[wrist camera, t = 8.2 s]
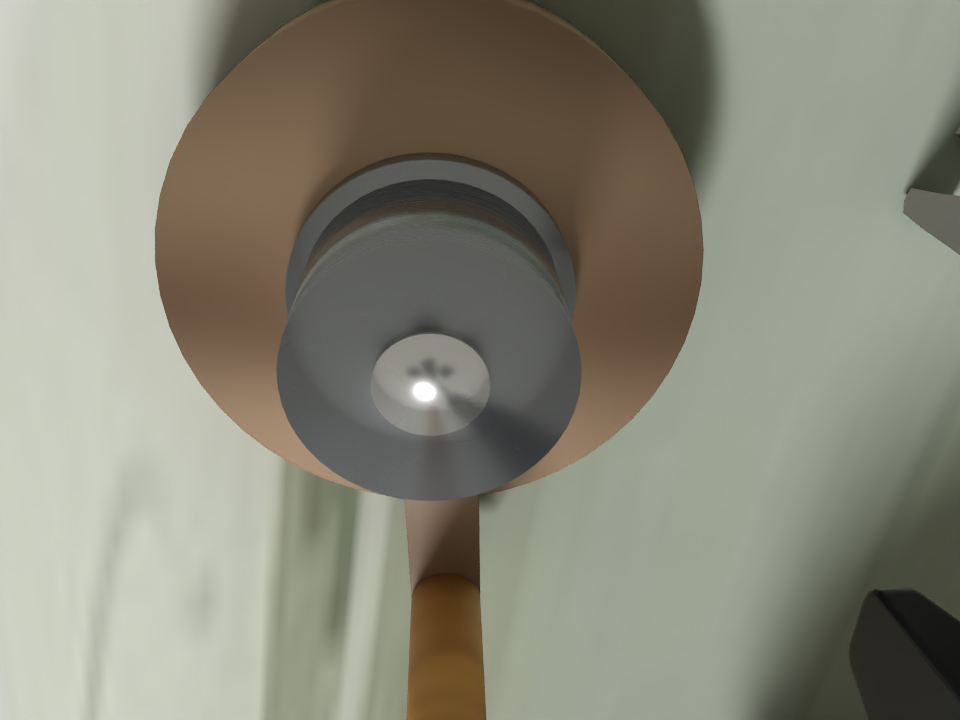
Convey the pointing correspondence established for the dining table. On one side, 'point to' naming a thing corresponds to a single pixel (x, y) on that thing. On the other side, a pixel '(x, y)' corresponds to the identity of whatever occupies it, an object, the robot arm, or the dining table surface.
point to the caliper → (936, 214)
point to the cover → (429, 329)
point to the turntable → (437, 129)
